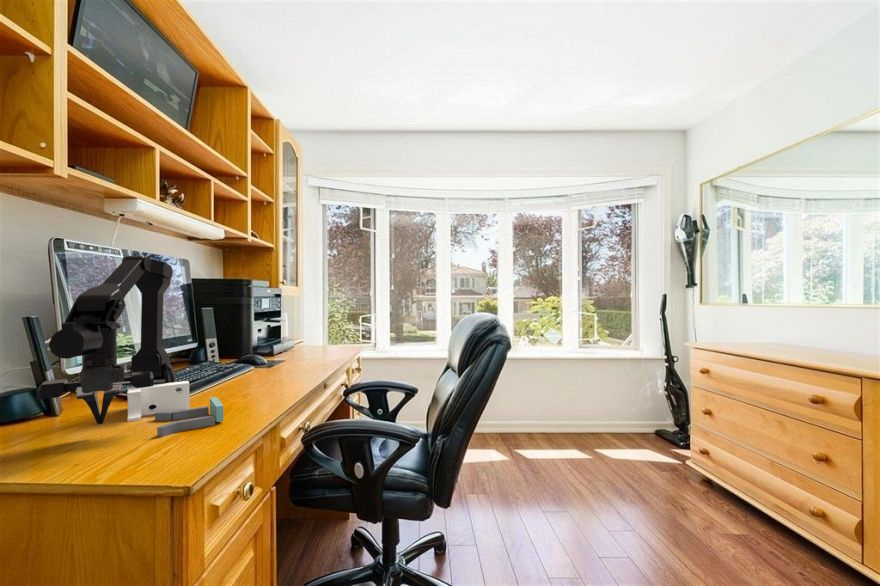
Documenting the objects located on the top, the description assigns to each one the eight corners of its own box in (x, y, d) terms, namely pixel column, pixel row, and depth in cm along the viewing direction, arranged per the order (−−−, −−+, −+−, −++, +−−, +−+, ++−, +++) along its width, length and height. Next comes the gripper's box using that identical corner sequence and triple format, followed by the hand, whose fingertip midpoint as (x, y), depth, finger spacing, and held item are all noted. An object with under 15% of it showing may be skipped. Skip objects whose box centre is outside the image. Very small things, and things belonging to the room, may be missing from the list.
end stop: (209, 411, 104) (209, 397, 104) (216, 410, 105) (216, 397, 105) (216, 422, 96) (216, 406, 96) (223, 420, 97) (223, 405, 97)
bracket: (128, 415, 103) (127, 422, 97) (128, 387, 103) (127, 393, 97) (188, 406, 111) (190, 412, 105) (188, 380, 111) (190, 385, 105)
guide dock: (154, 420, 99) (154, 411, 99) (206, 411, 106) (206, 404, 106) (157, 438, 87) (157, 428, 87) (216, 427, 93) (216, 418, 93)
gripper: (30, 360, 75) (31, 445, 75) (153, 351, 86) (154, 425, 86) (42, 354, 84) (42, 429, 84) (152, 346, 95) (153, 412, 95)
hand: (100, 424), depth 87 cm, fingers closed
